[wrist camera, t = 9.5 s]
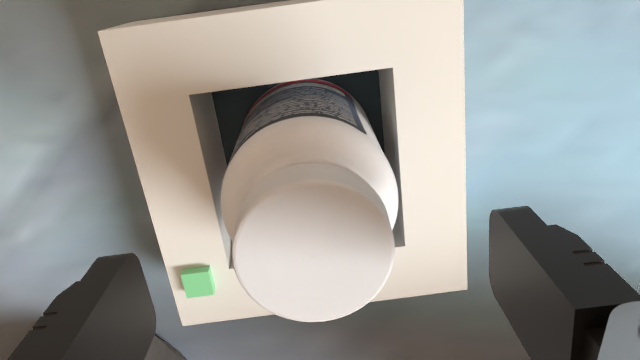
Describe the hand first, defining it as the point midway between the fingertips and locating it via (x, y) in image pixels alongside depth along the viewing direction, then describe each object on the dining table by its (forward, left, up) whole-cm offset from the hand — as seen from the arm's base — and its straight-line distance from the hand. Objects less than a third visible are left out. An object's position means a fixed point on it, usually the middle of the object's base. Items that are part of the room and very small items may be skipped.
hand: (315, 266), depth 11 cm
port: (0, 0, -10) cm, 9 cm away
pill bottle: (0, 0, -10) cm, 10 cm away
